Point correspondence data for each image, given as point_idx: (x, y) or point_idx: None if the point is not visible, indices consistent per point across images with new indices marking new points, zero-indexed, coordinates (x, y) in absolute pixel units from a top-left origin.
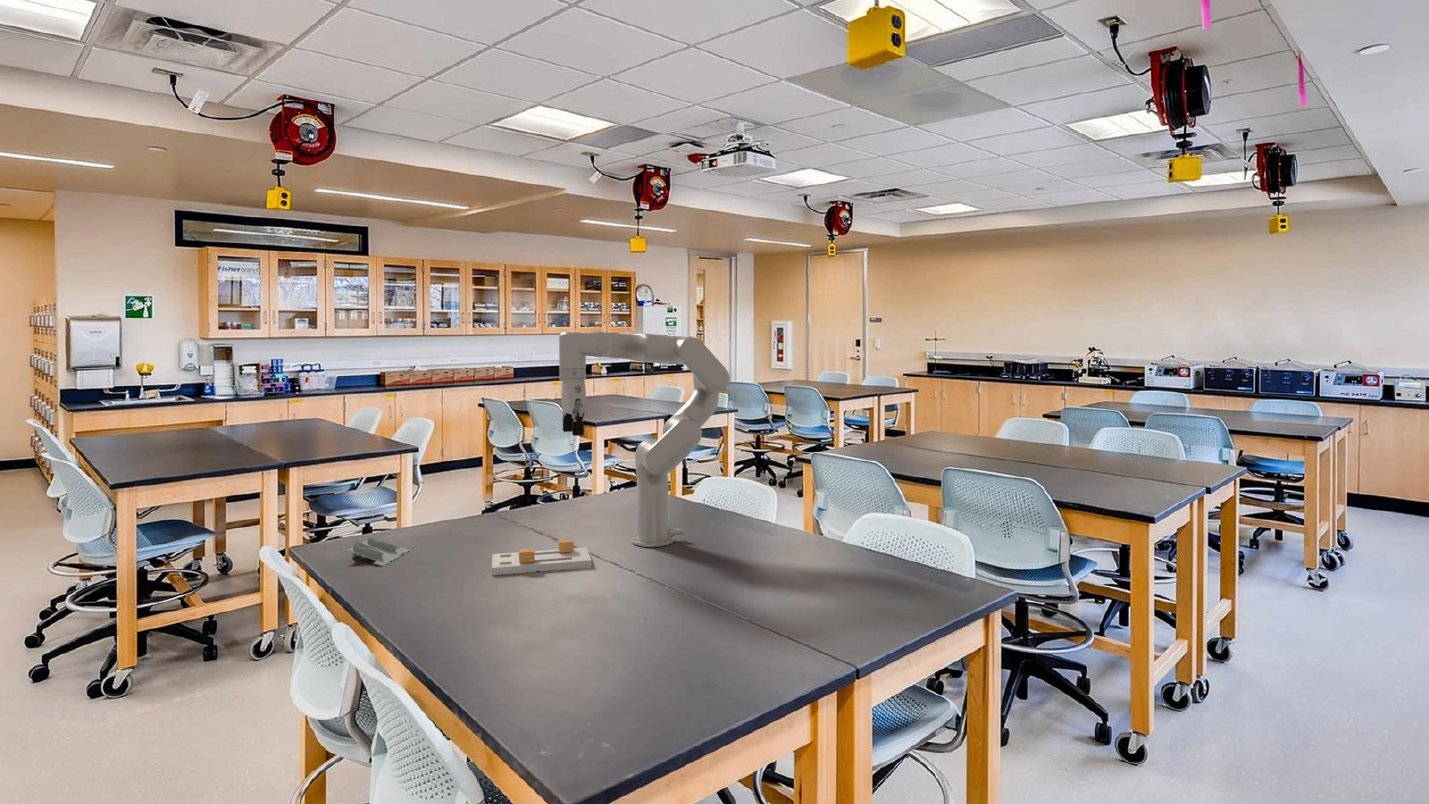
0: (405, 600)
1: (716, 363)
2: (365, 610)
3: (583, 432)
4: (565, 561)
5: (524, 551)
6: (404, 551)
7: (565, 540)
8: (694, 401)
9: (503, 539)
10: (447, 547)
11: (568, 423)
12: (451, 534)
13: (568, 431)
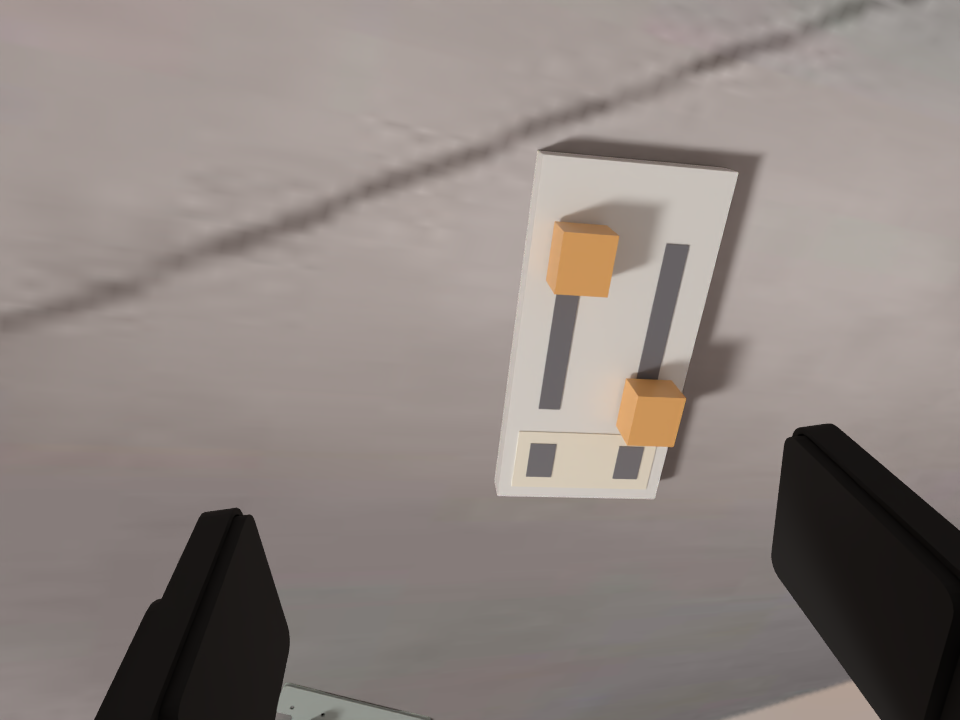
0: (740, 650)
1: None
2: (761, 704)
3: (851, 443)
4: (703, 273)
5: (667, 429)
6: (304, 697)
7: (583, 266)
8: None
9: (197, 440)
10: None
11: (243, 701)
12: (80, 599)
13: (263, 576)
